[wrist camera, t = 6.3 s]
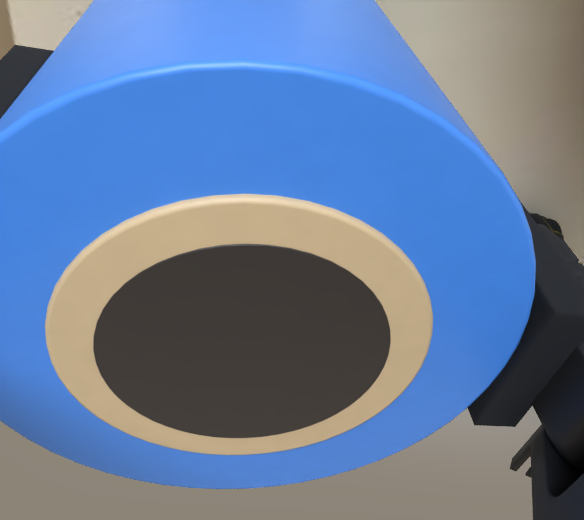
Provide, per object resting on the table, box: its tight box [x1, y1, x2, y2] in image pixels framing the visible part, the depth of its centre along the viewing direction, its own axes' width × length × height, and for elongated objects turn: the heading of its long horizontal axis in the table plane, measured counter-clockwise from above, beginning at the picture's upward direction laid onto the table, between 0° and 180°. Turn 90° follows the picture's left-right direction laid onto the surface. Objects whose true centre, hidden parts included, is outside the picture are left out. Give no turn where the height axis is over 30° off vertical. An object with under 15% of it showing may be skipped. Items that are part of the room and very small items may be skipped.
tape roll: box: [0, 0, 536, 489], centre depth 10 cm, size 8×8×7 cm
